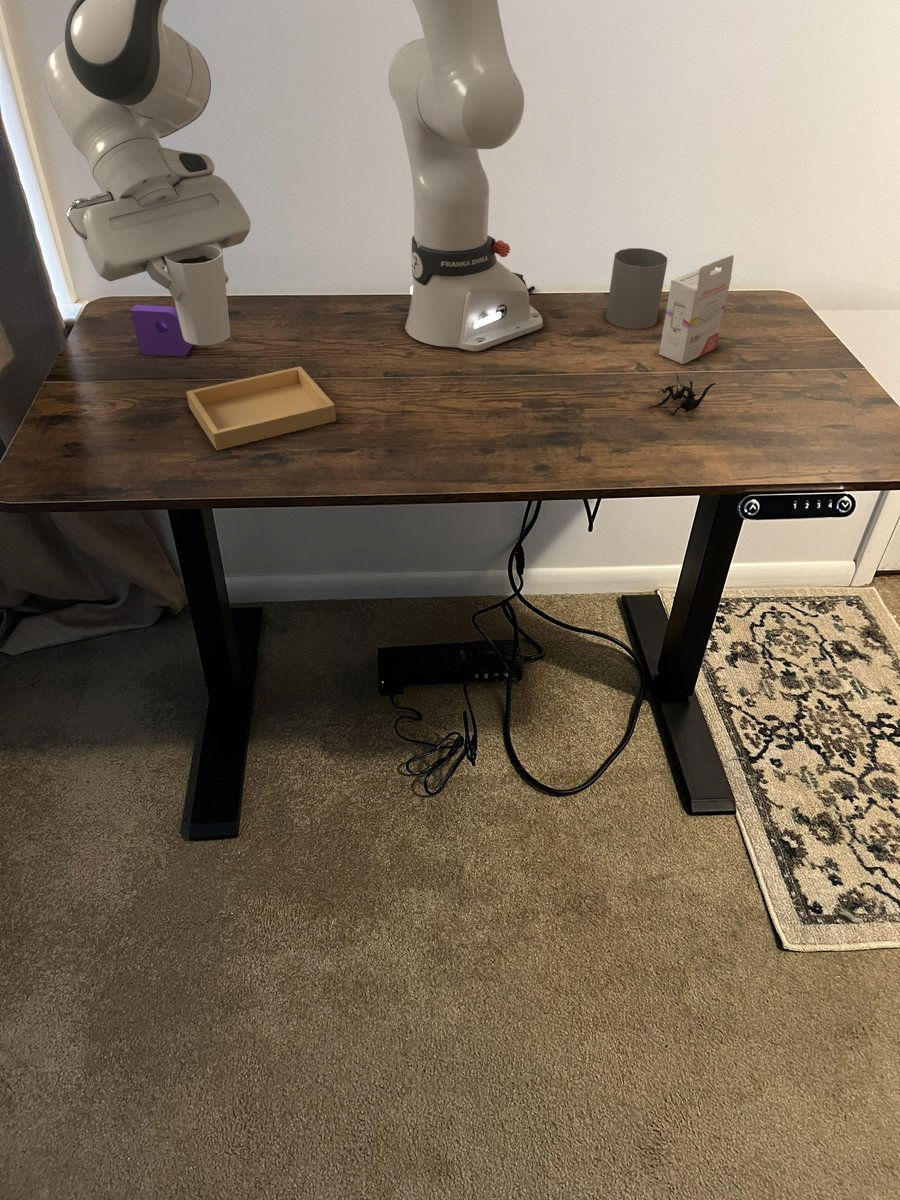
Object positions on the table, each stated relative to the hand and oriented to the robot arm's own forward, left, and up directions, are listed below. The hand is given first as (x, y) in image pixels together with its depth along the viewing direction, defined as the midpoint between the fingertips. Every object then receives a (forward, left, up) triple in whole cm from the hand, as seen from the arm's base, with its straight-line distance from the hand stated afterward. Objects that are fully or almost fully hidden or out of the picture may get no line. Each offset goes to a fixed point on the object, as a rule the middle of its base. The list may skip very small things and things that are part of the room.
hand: (203, 290), depth 104 cm
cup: (-70, -3, -18) cm, 73 cm away
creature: (-57, +24, -19) cm, 65 cm away
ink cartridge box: (-70, +11, -19) cm, 73 cm away
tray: (-5, -1, -18) cm, 19 cm away
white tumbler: (0, -1, -6) cm, 6 cm away
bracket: (-1, -29, -18) cm, 35 cm away
